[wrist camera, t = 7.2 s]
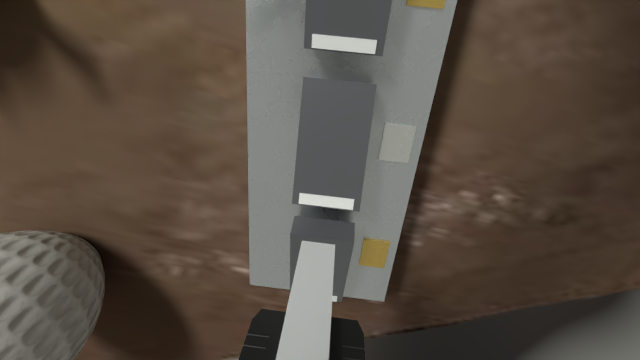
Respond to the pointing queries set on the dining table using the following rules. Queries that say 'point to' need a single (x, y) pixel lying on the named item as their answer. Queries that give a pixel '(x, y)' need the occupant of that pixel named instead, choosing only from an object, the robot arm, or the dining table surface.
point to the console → (384, 143)
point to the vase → (48, 294)
